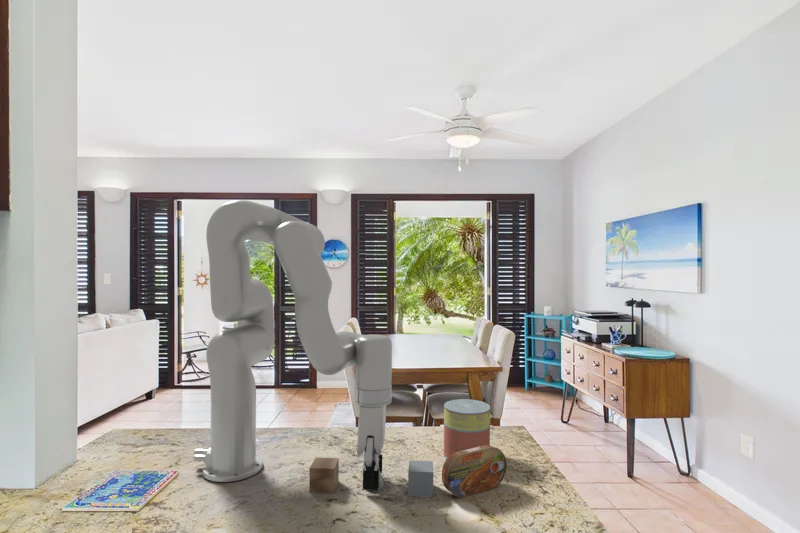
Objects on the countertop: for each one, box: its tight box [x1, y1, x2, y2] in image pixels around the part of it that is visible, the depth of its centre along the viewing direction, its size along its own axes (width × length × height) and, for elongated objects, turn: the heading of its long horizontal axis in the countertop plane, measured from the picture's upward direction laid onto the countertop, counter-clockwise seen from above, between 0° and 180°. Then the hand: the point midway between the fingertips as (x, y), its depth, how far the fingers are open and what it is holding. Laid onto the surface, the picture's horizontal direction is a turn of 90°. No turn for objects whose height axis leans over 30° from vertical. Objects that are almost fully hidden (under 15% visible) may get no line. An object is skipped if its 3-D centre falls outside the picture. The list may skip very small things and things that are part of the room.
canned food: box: [442, 398, 491, 459], centre depth 109 cm, size 11×11×12 cm
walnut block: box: [308, 456, 340, 494], centre depth 93 cm, size 5×5×5 cm
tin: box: [441, 445, 508, 499], centre depth 92 cm, size 15×3×8 cm, turn 118°
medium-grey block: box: [407, 460, 434, 498], centre depth 92 cm, size 5×5×5 cm
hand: (372, 480), depth 93 cm, fingers open, 6 cm apart
